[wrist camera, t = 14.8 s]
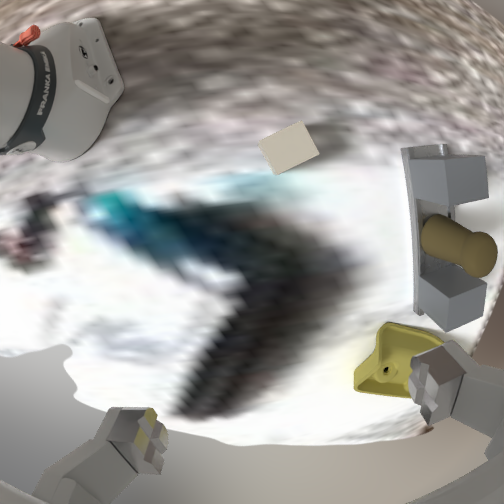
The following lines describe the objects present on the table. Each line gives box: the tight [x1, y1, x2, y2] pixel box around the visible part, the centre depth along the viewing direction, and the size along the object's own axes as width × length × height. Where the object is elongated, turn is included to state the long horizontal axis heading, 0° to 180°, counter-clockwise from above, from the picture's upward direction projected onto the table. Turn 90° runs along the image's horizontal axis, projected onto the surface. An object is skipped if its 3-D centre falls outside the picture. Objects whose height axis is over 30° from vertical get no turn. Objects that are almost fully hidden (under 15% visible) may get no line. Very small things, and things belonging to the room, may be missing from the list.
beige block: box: [258, 121, 319, 175], centre depth 31 cm, size 4×5×5 cm
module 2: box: [418, 265, 487, 332], centre depth 33 cm, size 5×7×8 cm
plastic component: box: [354, 323, 444, 398], centre depth 40 cm, size 20×7×10 cm
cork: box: [421, 214, 498, 278], centre depth 29 cm, size 6×6×11 cm
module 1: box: [408, 155, 489, 207], centre depth 29 cm, size 5×7×8 cm
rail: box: [401, 144, 456, 316], centre depth 35 cm, size 24×7×2 cm, turn 13°
